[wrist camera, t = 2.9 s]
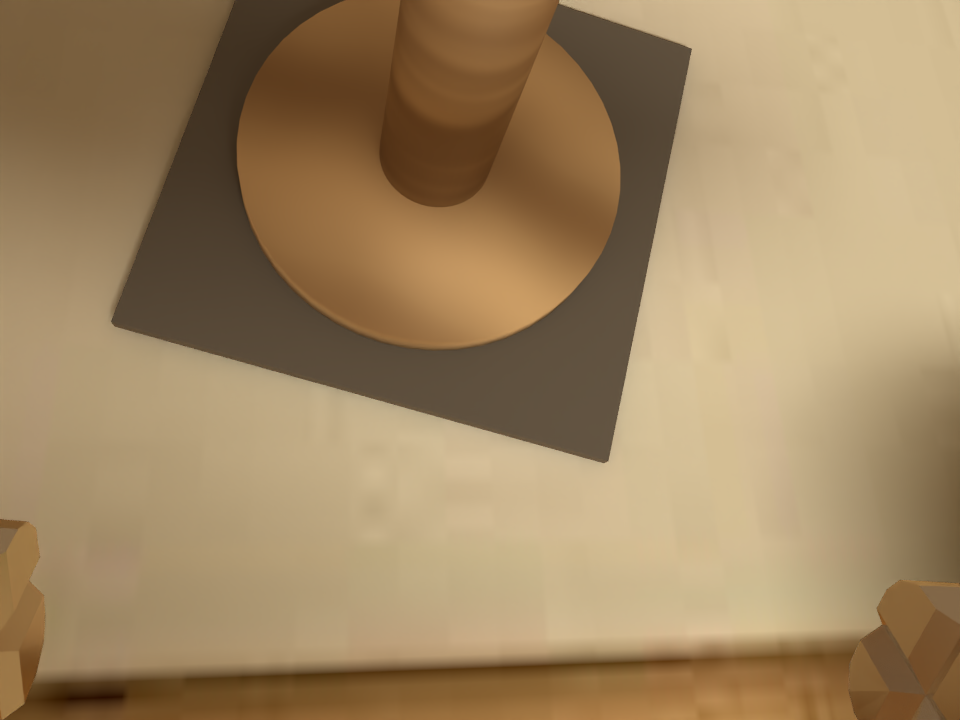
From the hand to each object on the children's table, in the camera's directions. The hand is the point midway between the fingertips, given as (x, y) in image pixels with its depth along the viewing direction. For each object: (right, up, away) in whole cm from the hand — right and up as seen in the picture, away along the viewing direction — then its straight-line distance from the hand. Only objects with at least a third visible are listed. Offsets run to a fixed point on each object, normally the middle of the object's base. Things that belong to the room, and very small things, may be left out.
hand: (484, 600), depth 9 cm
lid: (-2, +8, +18) cm, 20 cm away
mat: (-2, +8, +19) cm, 20 cm away
